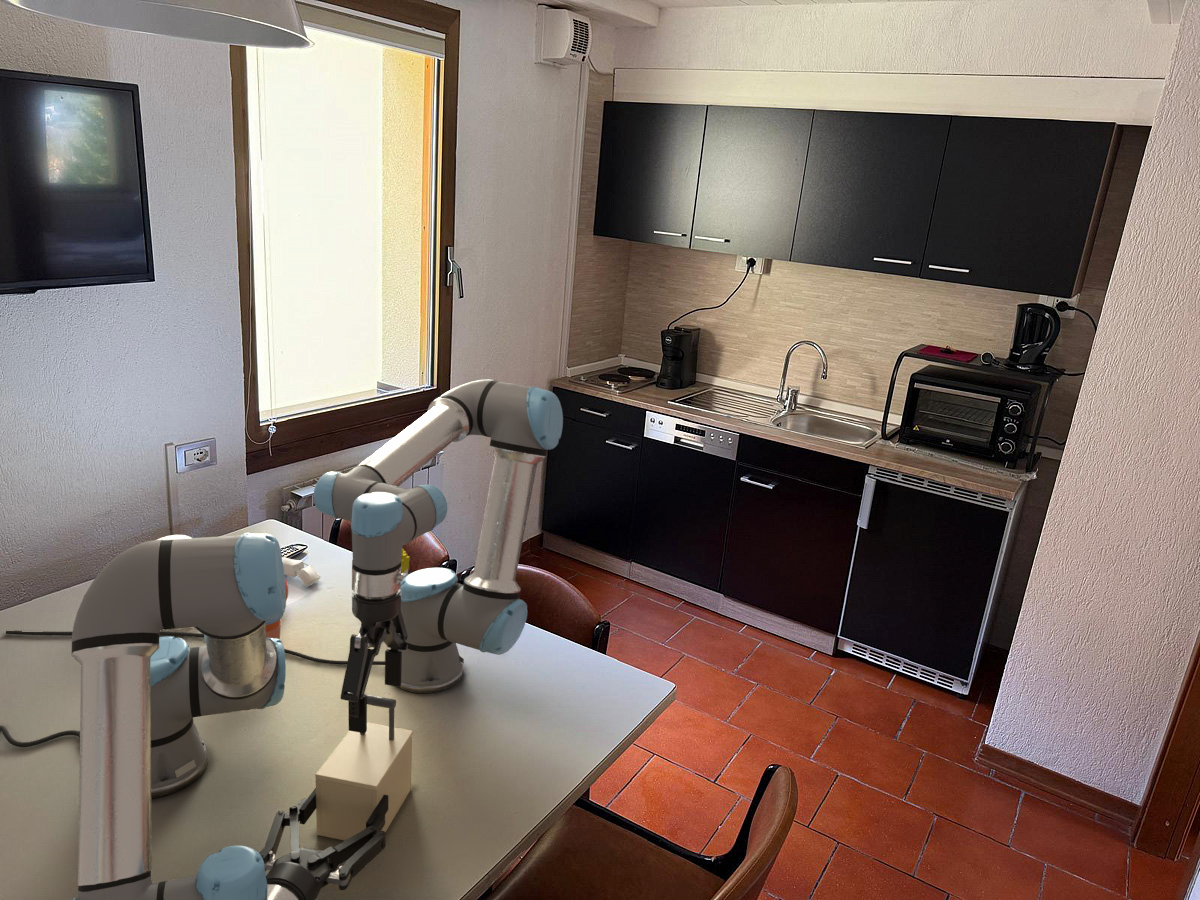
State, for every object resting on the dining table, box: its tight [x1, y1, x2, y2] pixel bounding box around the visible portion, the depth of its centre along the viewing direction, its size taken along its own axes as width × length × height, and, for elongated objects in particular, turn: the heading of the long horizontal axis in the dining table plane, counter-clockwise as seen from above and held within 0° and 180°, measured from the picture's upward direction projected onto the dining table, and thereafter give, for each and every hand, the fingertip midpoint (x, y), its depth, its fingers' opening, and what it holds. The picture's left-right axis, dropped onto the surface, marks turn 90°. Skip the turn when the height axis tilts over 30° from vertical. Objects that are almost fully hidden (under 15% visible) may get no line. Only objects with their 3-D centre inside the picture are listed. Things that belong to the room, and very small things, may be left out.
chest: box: [315, 736, 413, 842], centre depth 141 cm, size 14×10×11 cm
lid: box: [314, 693, 414, 790], centre depth 138 cm, size 15×10×8 cm
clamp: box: [282, 556, 322, 587], centre depth 219 cm, size 20×4×7 cm, turn 62°
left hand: (354, 795), depth 136 cm, fingers closed on chest, 10 cm apart
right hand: (376, 706), depth 141 cm, fingers open, 13 cm apart
